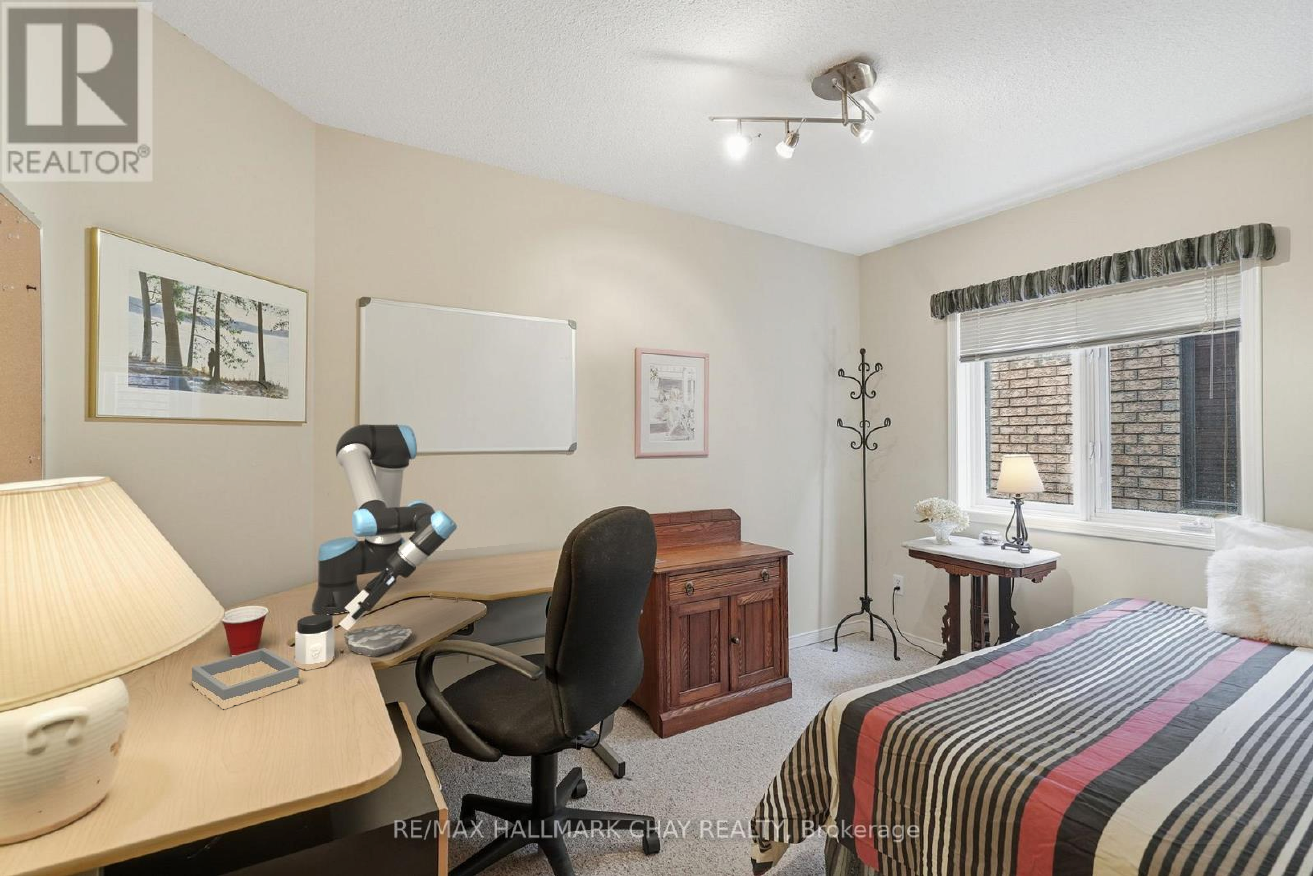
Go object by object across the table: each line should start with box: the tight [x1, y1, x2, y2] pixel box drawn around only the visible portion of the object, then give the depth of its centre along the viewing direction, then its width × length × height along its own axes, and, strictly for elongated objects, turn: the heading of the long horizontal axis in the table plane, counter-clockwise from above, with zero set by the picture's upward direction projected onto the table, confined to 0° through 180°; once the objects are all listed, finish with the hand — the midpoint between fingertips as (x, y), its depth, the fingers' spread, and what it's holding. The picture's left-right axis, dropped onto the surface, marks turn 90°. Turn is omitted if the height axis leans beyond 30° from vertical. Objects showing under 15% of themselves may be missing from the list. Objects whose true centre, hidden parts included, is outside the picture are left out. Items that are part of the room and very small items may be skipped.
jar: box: [294, 614, 335, 664], centre depth 155 cm, size 9×8×12 cm
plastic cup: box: [220, 605, 269, 656], centre depth 159 cm, size 11×11×12 cm
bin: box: [191, 647, 300, 700], centre depth 142 cm, size 19×16×4 cm
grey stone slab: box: [343, 624, 413, 657], centre depth 169 cm, size 20×17×3 cm
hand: (346, 618), depth 156 cm, fingers open, 13 cm apart
